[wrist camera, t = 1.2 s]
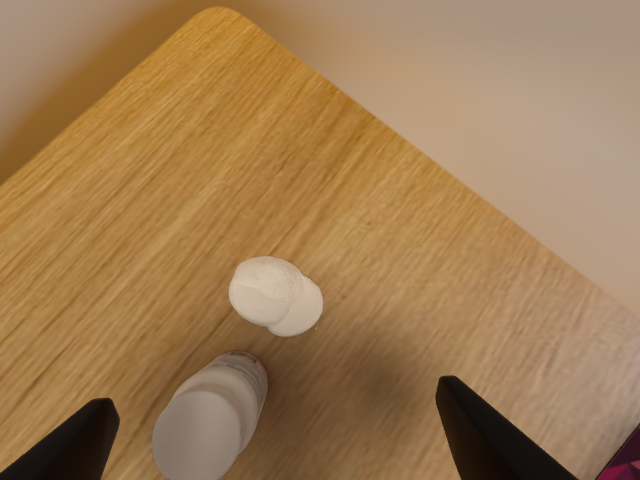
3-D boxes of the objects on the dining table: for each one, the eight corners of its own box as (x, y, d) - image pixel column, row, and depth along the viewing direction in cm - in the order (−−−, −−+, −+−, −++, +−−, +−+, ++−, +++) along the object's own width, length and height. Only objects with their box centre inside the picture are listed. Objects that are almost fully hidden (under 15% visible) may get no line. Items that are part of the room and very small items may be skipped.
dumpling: (223, 306, 23) (205, 292, 20) (264, 252, 25) (255, 230, 21) (301, 358, 22) (297, 353, 18) (338, 296, 23) (341, 281, 20)
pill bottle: (222, 434, 21) (170, 523, 13) (190, 373, 22) (121, 421, 14) (281, 395, 22) (268, 456, 14) (249, 336, 23) (217, 361, 14)
